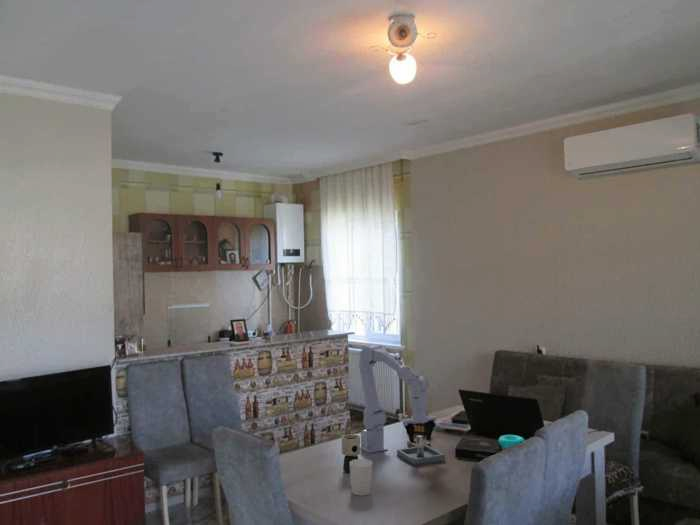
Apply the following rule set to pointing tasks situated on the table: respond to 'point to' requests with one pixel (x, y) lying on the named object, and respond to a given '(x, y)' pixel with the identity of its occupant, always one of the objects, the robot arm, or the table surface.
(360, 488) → the white cup
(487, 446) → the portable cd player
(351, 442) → the character mug
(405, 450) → the tray
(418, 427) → the ammunition clip
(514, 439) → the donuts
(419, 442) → the steel pin
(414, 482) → the table surface
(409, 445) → the pin block
